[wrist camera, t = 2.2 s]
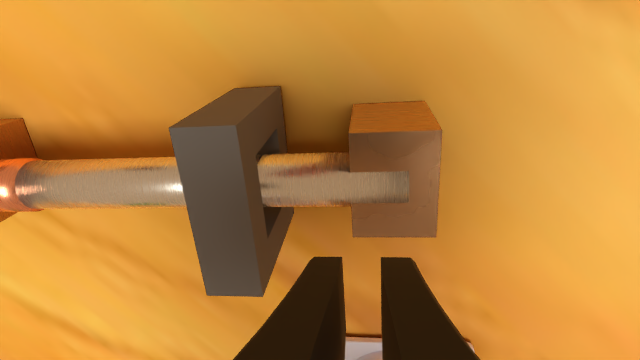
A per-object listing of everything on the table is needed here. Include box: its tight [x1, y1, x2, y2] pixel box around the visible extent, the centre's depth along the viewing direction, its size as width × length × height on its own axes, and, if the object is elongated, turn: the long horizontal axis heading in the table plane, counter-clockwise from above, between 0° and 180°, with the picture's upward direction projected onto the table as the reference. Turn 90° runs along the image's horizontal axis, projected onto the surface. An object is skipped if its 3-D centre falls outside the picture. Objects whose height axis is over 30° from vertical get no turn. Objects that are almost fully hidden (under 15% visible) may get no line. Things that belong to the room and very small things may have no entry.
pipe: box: [0, 101, 442, 237], centre depth 17 cm, size 22×4×5 cm, turn 94°
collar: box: [169, 86, 294, 297], centre depth 15 cm, size 2×6×6 cm, turn 4°
